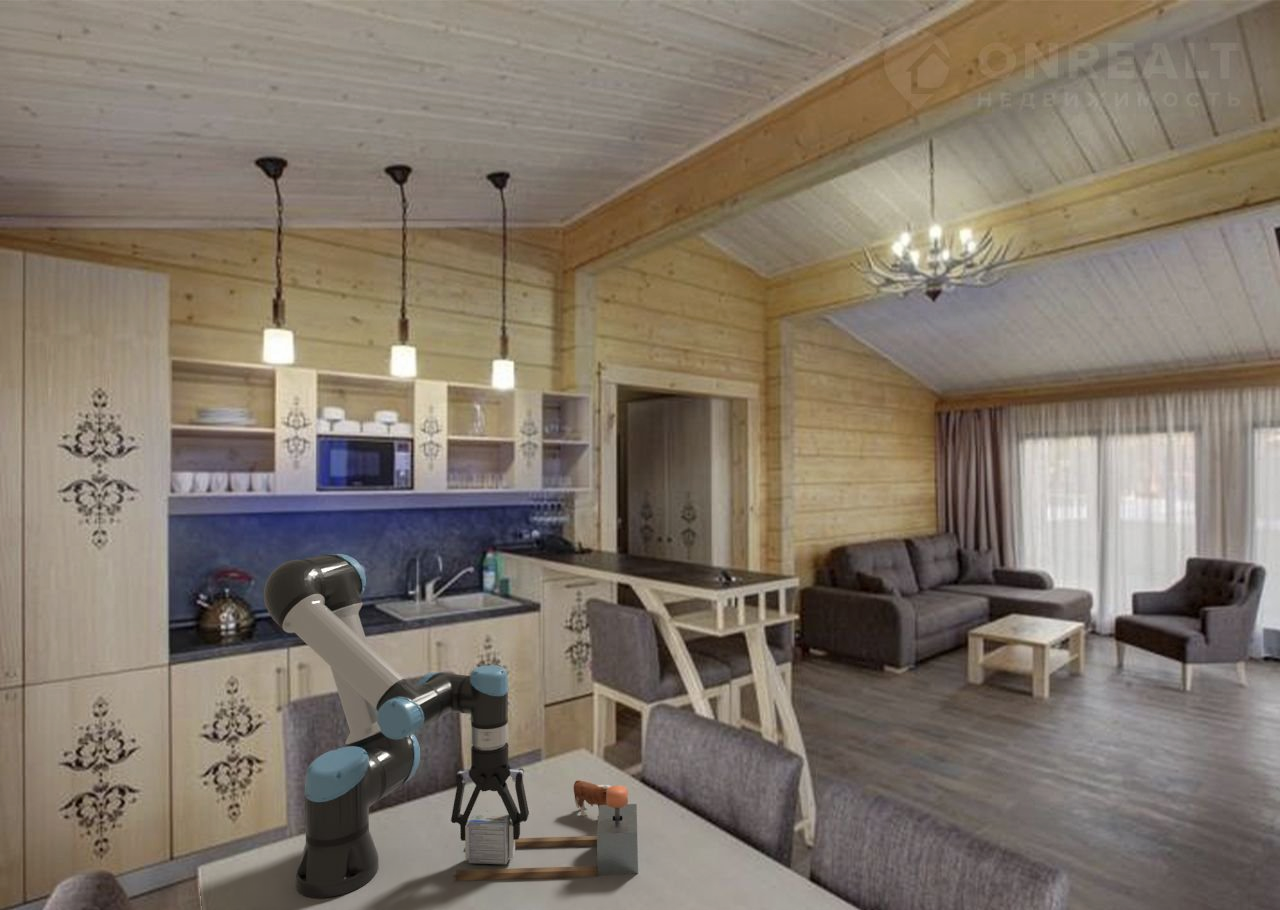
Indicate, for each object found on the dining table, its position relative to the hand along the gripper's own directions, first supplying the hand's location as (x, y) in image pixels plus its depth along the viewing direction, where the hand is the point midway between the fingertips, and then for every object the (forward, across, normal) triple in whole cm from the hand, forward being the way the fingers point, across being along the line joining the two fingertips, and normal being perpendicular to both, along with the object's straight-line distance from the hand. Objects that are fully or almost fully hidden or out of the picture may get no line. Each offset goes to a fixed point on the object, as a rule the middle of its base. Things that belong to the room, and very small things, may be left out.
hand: (490, 854), depth 144 cm
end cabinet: (+1, +26, 0) cm, 26 cm away
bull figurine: (+1, +21, +17) cm, 28 cm away
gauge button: (-6, +26, 0) cm, 27 cm away
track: (+1, +8, 0) cm, 8 cm away
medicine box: (+1, 0, 0) cm, 1 cm away
